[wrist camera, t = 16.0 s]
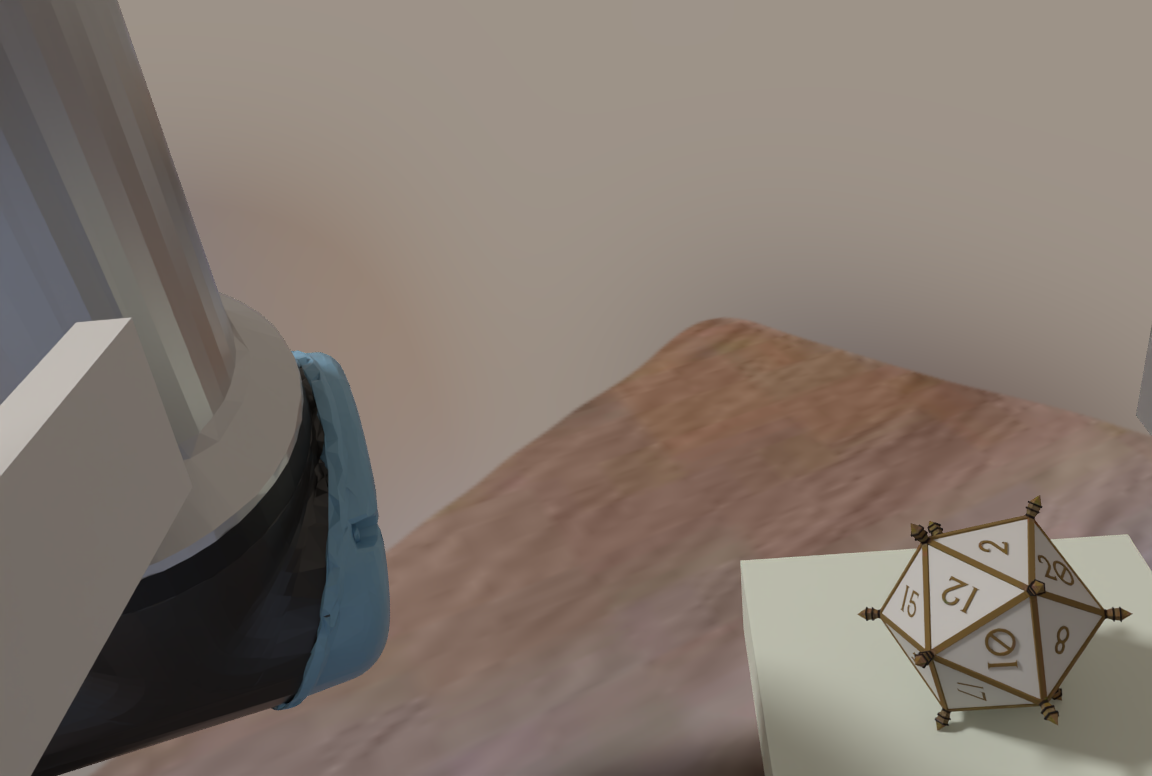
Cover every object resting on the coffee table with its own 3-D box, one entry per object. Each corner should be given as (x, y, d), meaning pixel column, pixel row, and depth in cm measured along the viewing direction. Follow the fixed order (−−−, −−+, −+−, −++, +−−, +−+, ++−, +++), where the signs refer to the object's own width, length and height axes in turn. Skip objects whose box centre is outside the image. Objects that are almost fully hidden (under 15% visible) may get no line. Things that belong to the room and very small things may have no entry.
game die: (980, 717, 48) (1072, 505, 47) (1099, 820, 39) (1214, 565, 38) (798, 654, 46) (891, 434, 45) (883, 748, 38) (998, 481, 37)
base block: (794, 989, 40) (792, 904, 37) (744, 637, 55) (740, 560, 53) (1314, 970, 38) (1349, 881, 36) (1113, 614, 54) (1127, 534, 51)
